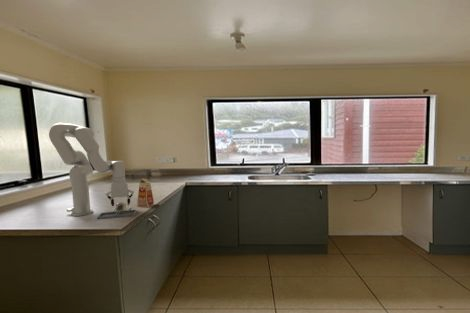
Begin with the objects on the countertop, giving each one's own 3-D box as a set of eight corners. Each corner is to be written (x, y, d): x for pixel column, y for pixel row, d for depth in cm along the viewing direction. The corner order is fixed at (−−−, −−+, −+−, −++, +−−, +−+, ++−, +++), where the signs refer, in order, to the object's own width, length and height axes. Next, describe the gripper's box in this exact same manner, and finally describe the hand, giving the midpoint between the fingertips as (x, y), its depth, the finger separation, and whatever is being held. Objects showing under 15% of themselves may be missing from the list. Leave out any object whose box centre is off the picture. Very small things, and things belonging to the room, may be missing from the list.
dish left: (97, 219, 162) (97, 217, 162) (101, 215, 172) (101, 212, 172) (115, 218, 164) (115, 215, 164) (118, 213, 174) (118, 211, 174)
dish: (111, 213, 174) (111, 211, 174) (114, 209, 184) (114, 207, 183) (128, 212, 176) (127, 210, 176) (130, 208, 186) (130, 206, 185)
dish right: (117, 218, 164) (116, 215, 164) (120, 213, 174) (120, 211, 174) (134, 216, 166) (134, 213, 166) (136, 212, 176) (136, 209, 176)
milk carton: (148, 207, 187) (146, 178, 186) (136, 207, 189) (134, 178, 187) (154, 204, 196) (153, 176, 194) (143, 203, 198) (141, 176, 196)
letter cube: (116, 211, 177) (115, 204, 176) (118, 209, 182) (117, 202, 181) (124, 211, 178) (124, 203, 177) (125, 209, 183) (125, 201, 182)
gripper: (103, 181, 173) (105, 207, 174) (132, 179, 176) (133, 205, 178) (106, 179, 180) (108, 204, 181) (133, 177, 184) (135, 202, 185)
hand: (120, 205), depth 179 cm, fingers open, 9 cm apart
